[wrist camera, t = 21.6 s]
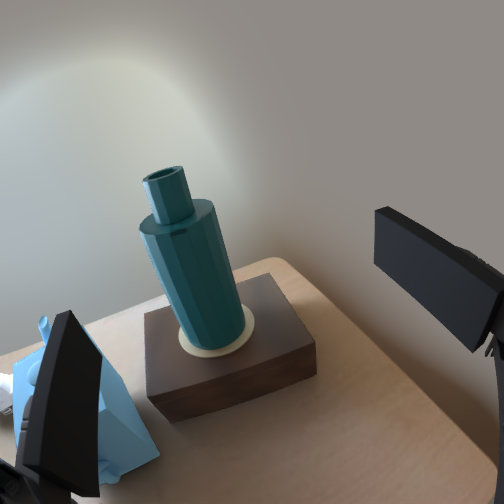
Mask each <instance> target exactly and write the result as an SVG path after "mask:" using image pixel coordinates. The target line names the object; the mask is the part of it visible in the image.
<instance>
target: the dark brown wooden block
mask: <svg viewBox="0 0 504 504" xmlns="http://www.w3.org/2000/svg"><path fill="white" fill-rule="evenodd" d="M236 288H237V291H238V295H239V298H240V301H241V305H242V308H243V312H244V315H245V328H244V330H243V332H242V334H241V335H240V336H239V338H238V339H236V340H235V341H234V342H233V343H231V344H229V345H227V346H225V347H223V348H219V349H214V350H204V349H200V348H197V347H195V346H193V345H192V344H191V343H190V342H189V341H188V339H187V337H186V336H185V334H184V332H183V330H182V328H181V326H180V324H179V322H178V320H177V318H176V315H175V313H174V311H173V309H172V307H171V305H170V306H167V307H164V308H160V309H157V310H154V311H151V312H148V313H145V314H144V347H145V373H146V389H147V398H148V399H149V400H150V401H151V402H152V404H153V405H154V406H155V407H156V408H157V409H158V410H159V412H160V413H161V414H162V415H163V416H164V417H165V418H166V419H167V420H168V421H169V422H170V423H172V422H176V421H180V420H184V419H188V418H192V417H196V416H199V415H203V414H206V413H210V412H213V411H217V410H220V409H223V408H227V407H230V406H233V405H236V404H239V403H242V402H245V401H248V400H251V399H254V398H257V397H260V396H262V395H265V394H268V393H271V392H273V391H276V390H279V389H281V388H284V387H286V386H289V385H291V384H294V383H296V382H299V381H301V380H304V379H306V378H308V377H311V376H313V375H315V374H317V364H316V348H315V341H314V339H313V338H312V336H311V335H310V333H309V332H308V330H307V329H306V327H305V326H304V324H303V323H302V321H301V320H300V318H299V317H298V315H297V314H296V312H295V311H294V309H293V308H292V306H291V305H290V303H289V302H288V300H287V299H286V297H285V296H284V294H283V293H282V291H281V290H280V288H279V287H278V285H277V284H276V282H275V281H274V279H273V278H272V276H271V275H270V273H266V274H263V275H260V276H257V277H255V278H252V279H249V280H246V281H243V282H240V283H237V284H236Z"/></svg>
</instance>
